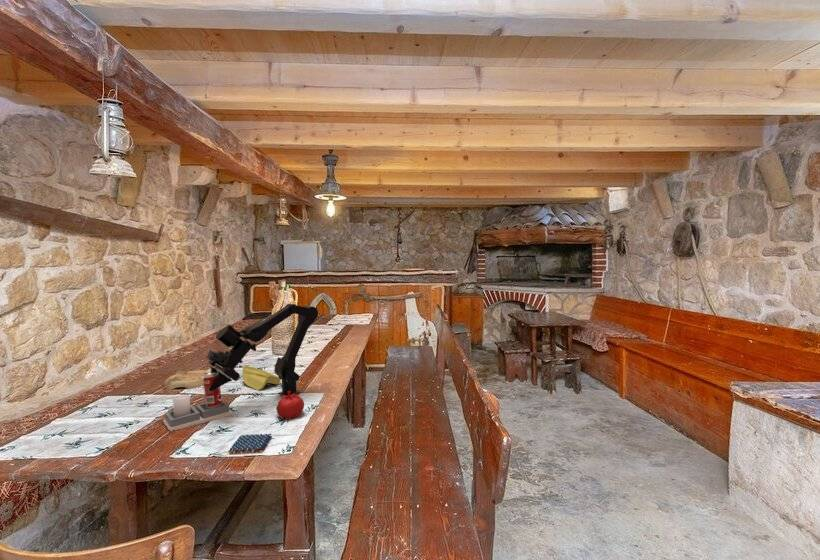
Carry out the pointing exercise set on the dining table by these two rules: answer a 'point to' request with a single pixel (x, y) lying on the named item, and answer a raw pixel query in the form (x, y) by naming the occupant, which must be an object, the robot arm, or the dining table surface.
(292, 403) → the pomegranate
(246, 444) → the woven mat
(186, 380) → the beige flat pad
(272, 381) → the plastic component
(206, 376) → the soda can
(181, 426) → the compartment tray
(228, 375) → the robot arm
